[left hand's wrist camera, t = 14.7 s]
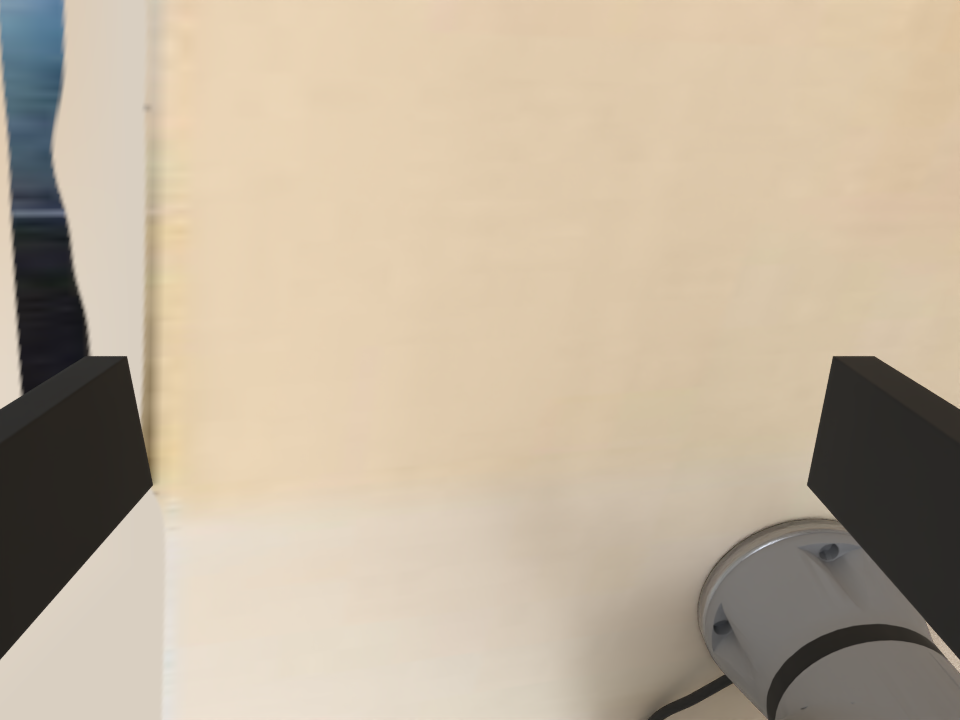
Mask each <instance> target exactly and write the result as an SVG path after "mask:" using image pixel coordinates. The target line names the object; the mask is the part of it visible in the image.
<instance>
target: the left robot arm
mask: <svg viewBox="0 0 960 720" xmlns="http://www.w3.org/2000/svg"><path fill="white" fill-rule="evenodd" d="M152 486H153V483H152V478H151V473H150V468H149V463H148V458H147V453H146V448H145V443H144V438H143V434H142V429H141V424H140V419H139V414H138V409H137V404H136V399H135V394H134V389H133V384H132V379H131V374H130V369H129V364H128V359H127V356H85V357H84V358H82V359H81V360H79V361H77V362H76V363H74V364H73V365H71V366H69V367H68V368H66V369H64V370H63V371H61V372H60V373H58V374H56V375H55V376H53V377H52V378H50V379H48V380H47V381H45V382H44V383H42V384H40V385H39V386H37V387H35V388H34V389H32V390H31V391H29V392H27V393H26V394H24V395H23V396H21V397H19V398H18V399H16V400H15V401H13V402H11V403H10V404H8V405H7V406H5V407H3V408H2V409H0V659H1V658H2V657H3V656H4V655H5V654H6V652H7V651H8V650H9V649H10V648H11V647H12V646H13V644H14V643H15V642H16V641H17V640H18V639H19V638H20V636H21V635H22V634H23V633H24V632H25V631H26V630H27V628H28V627H29V626H30V625H31V624H32V623H33V622H34V620H35V619H36V618H37V617H38V616H39V615H40V614H41V612H42V611H43V610H44V609H45V608H46V607H47V606H48V604H49V603H50V602H51V601H52V600H53V599H54V598H55V596H56V595H57V594H58V593H59V592H60V591H61V590H62V588H63V587H64V586H65V585H66V584H67V583H68V582H69V580H70V579H71V578H72V577H73V576H74V575H75V574H76V572H77V571H78V570H79V569H80V568H81V567H82V566H83V564H84V563H85V562H86V561H87V560H88V559H89V558H90V556H91V555H92V554H93V553H94V552H95V551H96V550H97V548H98V547H99V546H100V545H101V544H102V543H103V542H104V540H105V539H106V538H107V537H108V536H109V535H110V534H111V532H112V531H113V530H114V529H115V528H116V527H117V526H118V524H119V523H120V522H121V521H122V520H123V519H124V518H125V516H126V515H127V514H128V513H129V512H130V511H131V510H132V508H133V507H134V506H135V505H136V504H137V503H138V502H139V500H140V499H141V498H142V497H143V496H144V495H145V494H146V492H147V491H148V490H149V489H150V488H151V487H152ZM807 486H808V487H809V488H810V489H811V490H812V491H813V492H814V494H815V495H816V496H817V497H818V498H819V499H820V500H821V502H822V503H823V504H824V505H825V506H826V507H827V508H828V510H829V511H830V512H831V513H832V514H833V515H834V516H835V518H836V519H837V520H838V521H833V520H825V519H808V520H798V521H792V522H787V523H783V524H779V525H776V526H773V527H770V528H767V529H765V530H762V531H760V532H758V533H756V534H754V535H752V536H750V537H749V538H747V539H745V540H744V541H742V542H741V543H739V544H738V545H736V546H735V547H734V548H733V549H731V550H730V551H729V552H728V553H727V554H726V555H725V556H724V557H723V558H722V559H721V560H720V561H719V562H718V563H717V565H716V566H715V567H714V569H713V570H712V571H711V573H710V574H709V576H708V578H707V580H706V582H705V584H704V586H703V588H702V592H701V595H700V599H699V604H698V621H699V627H700V630H701V633H702V636H703V638H704V641H705V643H706V645H707V648H708V650H709V652H710V654H711V656H712V658H713V659H714V661H715V662H716V664H717V665H718V666H719V668H720V669H721V670H722V672H723V673H724V674H725V675H723V676H722V677H720V678H718V679H716V680H715V681H713V682H711V683H709V684H708V685H706V686H704V687H702V688H701V689H699V690H697V691H695V692H693V693H692V694H690V695H688V696H686V697H684V698H681V699H679V700H677V701H674V702H672V703H670V704H668V705H666V706H664V707H662V708H661V709H659V710H658V711H657V712H655V713H654V714H653V715H652V716H651V717H650V718H649V719H648V720H664V719H665V718H667V717H668V716H670V715H672V714H674V713H676V712H679V711H681V710H683V709H686V708H688V707H690V706H692V705H694V704H696V703H698V702H700V701H702V700H704V699H705V698H707V697H709V696H711V695H713V694H714V693H716V692H718V691H720V690H721V689H723V688H725V687H727V686H729V685H730V684H732V683H734V684H735V685H736V686H737V687H738V689H739V690H740V691H741V692H742V693H743V694H744V695H745V696H746V697H747V698H748V699H749V700H750V701H751V702H752V703H753V704H754V705H755V706H756V707H757V708H758V709H759V710H760V711H761V712H762V714H763V715H764V716H765V717H766V718H767V719H768V720H960V673H959V672H958V671H957V670H956V669H955V667H954V666H953V665H952V664H951V663H950V662H949V661H948V659H947V658H946V657H945V656H944V655H943V654H942V652H941V651H940V650H939V649H938V648H937V646H936V645H935V644H934V643H933V640H932V638H931V635H930V632H929V630H928V627H927V624H926V622H927V623H928V624H929V625H930V626H931V627H932V628H933V630H934V631H935V632H936V633H937V634H938V635H939V636H940V638H941V639H942V640H943V641H944V642H945V643H946V644H947V646H948V647H949V648H950V649H951V650H952V651H953V652H954V654H955V655H956V656H957V657H958V658H959V659H960V409H958V408H957V407H955V406H954V405H952V404H950V403H949V402H947V401H945V400H944V399H942V398H941V397H939V396H937V395H936V394H934V393H933V392H931V391H929V390H928V389H926V388H925V387H923V386H921V385H920V384H918V383H916V382H915V381H913V380H912V379H910V378H908V377H907V376H905V375H904V374H902V373H900V372H899V371H897V370H896V369H894V368H892V367H891V366H889V365H887V364H886V363H884V362H883V361H881V360H879V359H878V358H876V357H875V356H833V359H832V364H831V369H830V374H829V379H828V384H827V389H826V394H825V399H824V404H823V409H822V414H821V419H820V424H819V429H818V434H817V438H816V443H815V448H814V453H813V458H812V463H811V468H810V473H809V478H808V483H807ZM925 620H926V622H925Z"/></svg>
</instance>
